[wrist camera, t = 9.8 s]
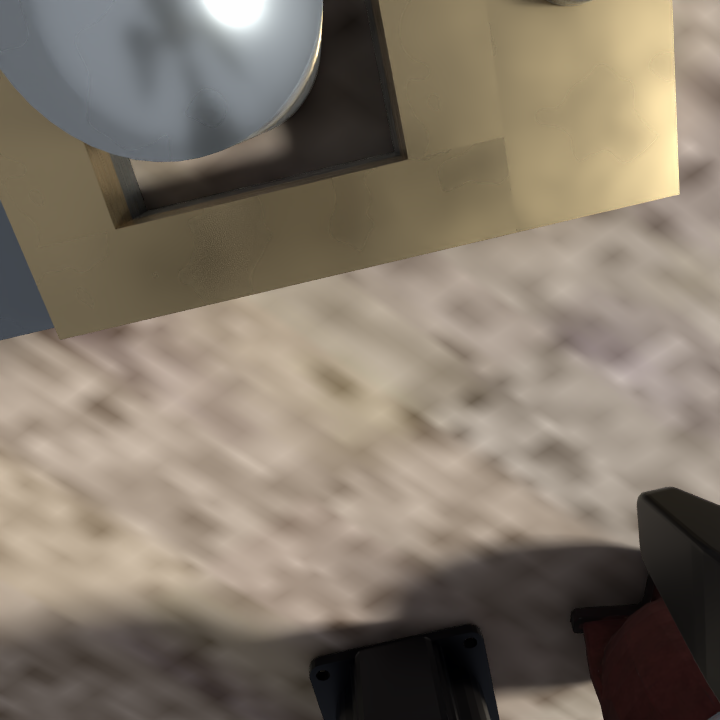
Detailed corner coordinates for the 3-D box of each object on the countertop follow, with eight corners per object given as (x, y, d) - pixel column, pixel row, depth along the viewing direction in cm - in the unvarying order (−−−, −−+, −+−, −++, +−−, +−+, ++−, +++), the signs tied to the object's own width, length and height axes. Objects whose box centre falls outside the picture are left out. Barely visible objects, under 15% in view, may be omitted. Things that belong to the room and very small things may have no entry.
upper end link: (624, 181, 18) (702, 199, 15) (98, 305, 19) (43, 354, 15) (588, -348, 14) (685, -512, 10) (-90, -174, 14) (-231, -272, 11)
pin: (338, 115, 17) (357, 120, 9) (176, 153, 17) (42, 195, 9) (296, -80, 16) (270, -300, 7) (116, -35, 16) (-115, -201, 7)
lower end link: (486, 213, 18) (511, 228, 16) (-35, 336, 19) (-84, 368, 16) (409, -302, 14) (427, -383, 12) (-260, -131, 15) (-369, -177, 12)
